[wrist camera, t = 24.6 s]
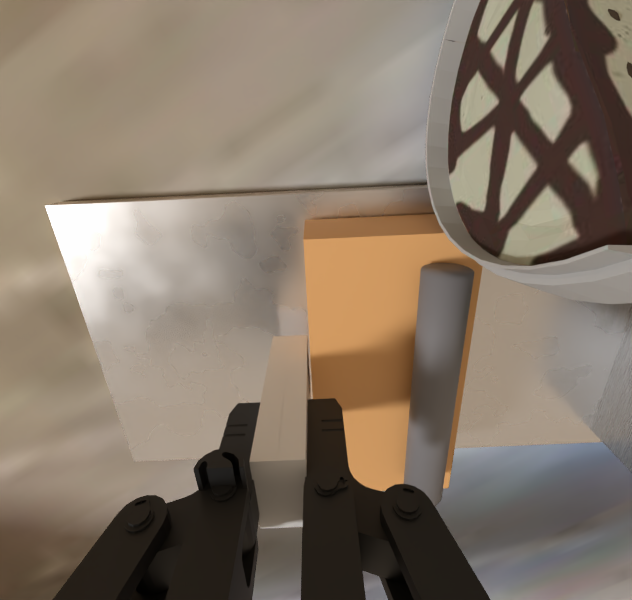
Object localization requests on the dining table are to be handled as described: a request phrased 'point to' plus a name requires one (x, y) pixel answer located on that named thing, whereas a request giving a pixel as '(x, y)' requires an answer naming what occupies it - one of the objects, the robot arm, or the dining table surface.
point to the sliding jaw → (391, 342)
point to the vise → (292, 319)
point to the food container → (537, 142)
